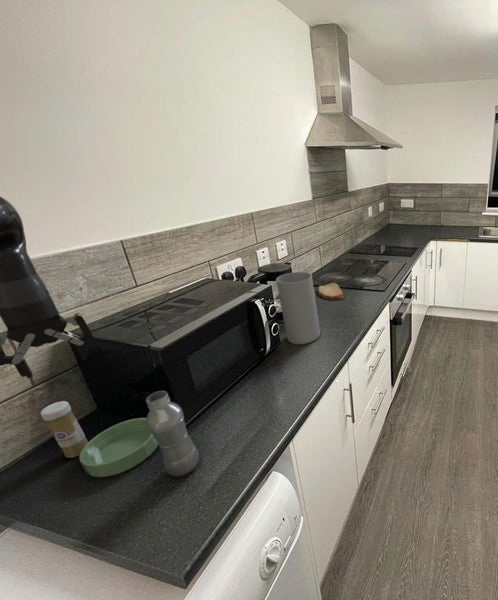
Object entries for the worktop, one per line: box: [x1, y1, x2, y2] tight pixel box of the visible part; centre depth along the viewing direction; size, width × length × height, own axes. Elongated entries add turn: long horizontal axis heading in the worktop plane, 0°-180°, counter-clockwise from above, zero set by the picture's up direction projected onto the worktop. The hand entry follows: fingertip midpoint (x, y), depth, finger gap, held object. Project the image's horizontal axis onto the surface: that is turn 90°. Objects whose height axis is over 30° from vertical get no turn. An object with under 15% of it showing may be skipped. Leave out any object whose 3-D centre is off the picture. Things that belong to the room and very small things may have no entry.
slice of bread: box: [317, 282, 345, 301], centre depth 170 cm, size 18×18×4 cm
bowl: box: [78, 417, 159, 478], centre depth 76 cm, size 14×14×4 cm
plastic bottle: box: [145, 390, 200, 477], centre depth 69 cm, size 6×7×20 cm
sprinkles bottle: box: [40, 400, 89, 459], centre depth 75 cm, size 5×5×14 cm
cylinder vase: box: [275, 271, 321, 345], centre depth 122 cm, size 12×12×25 cm
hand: (58, 367), depth 70 cm, fingers open, 8 cm apart
